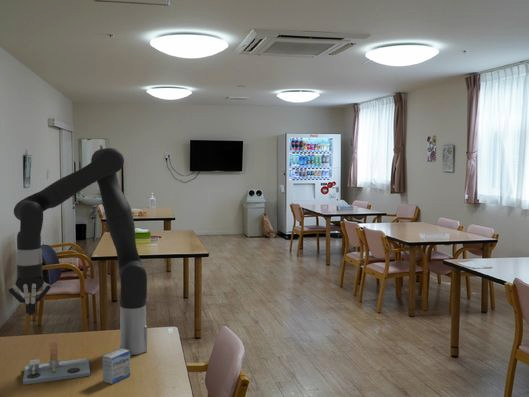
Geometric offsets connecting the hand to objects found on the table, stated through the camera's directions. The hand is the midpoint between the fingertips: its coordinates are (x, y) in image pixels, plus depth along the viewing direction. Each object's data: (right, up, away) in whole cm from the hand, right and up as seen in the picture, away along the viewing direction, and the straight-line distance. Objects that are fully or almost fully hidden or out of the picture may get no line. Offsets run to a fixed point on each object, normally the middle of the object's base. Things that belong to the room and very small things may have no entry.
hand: (30, 314), depth 167 cm
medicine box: (+28, -21, 0) cm, 35 cm away
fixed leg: (+1, -19, +1) cm, 19 cm away
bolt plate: (+7, -20, +3) cm, 22 cm away
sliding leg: (+7, -18, +3) cm, 20 cm away
